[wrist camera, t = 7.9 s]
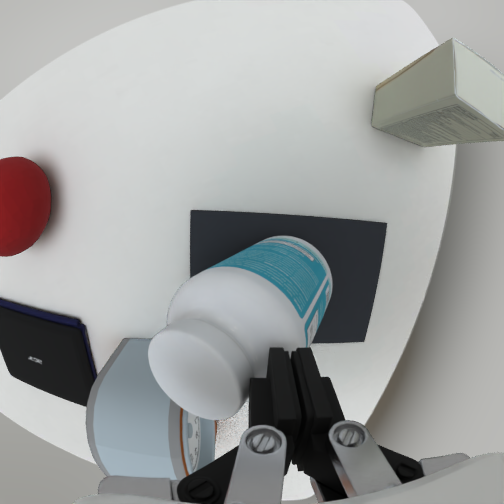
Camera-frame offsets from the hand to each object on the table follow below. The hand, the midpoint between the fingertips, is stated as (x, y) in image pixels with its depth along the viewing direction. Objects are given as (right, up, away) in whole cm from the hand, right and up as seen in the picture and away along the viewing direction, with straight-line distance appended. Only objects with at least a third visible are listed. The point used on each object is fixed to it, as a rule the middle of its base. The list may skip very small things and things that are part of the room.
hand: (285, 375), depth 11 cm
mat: (+2, +2, +13) cm, 14 cm away
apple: (-24, +10, +11) cm, 28 cm away
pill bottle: (+2, +3, +12) cm, 12 cm away
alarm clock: (-10, -11, +17) cm, 22 cm away
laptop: (-29, -8, +16) cm, 34 cm away
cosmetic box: (+12, +17, +10) cm, 23 cm away
